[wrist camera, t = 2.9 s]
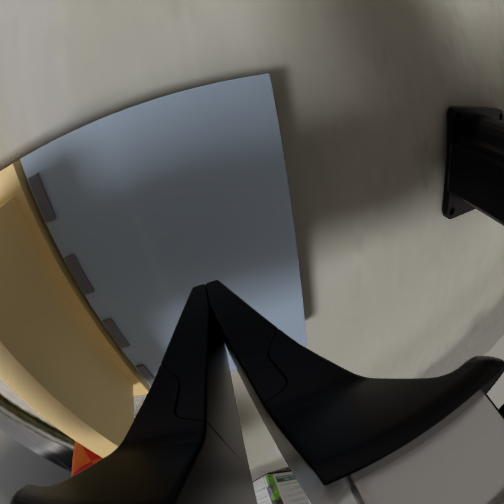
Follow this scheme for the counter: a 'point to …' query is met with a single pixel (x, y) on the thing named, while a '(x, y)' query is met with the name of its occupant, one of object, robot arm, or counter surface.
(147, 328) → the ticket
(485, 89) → the counter surface
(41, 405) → the stub
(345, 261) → the counter surface
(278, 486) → the syrup box
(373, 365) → the counter surface
